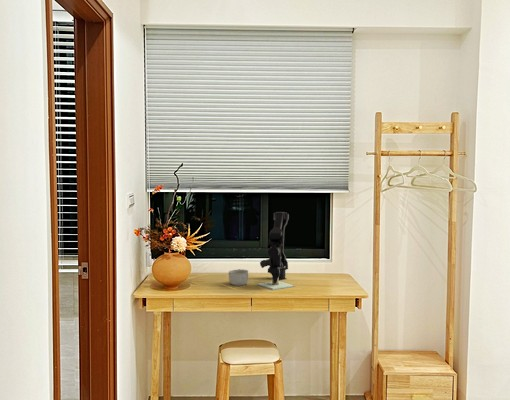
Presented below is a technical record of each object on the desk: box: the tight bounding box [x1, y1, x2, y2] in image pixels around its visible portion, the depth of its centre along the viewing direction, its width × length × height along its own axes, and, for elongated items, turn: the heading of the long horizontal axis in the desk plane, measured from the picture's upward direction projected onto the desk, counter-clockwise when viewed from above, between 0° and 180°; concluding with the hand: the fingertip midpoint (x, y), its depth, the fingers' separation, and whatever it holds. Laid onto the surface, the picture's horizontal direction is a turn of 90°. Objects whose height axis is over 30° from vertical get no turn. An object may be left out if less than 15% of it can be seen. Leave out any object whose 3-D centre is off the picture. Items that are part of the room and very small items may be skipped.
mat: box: [255, 283, 297, 291], centre depth 318 cm, size 16×16×1 cm
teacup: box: [228, 268, 249, 287], centre depth 322 cm, size 14×11×8 cm
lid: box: [257, 276, 294, 291], centre depth 318 cm, size 14×14×5 cm
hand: (275, 282), depth 318 cm, fingers closed on lid, 3 cm apart
